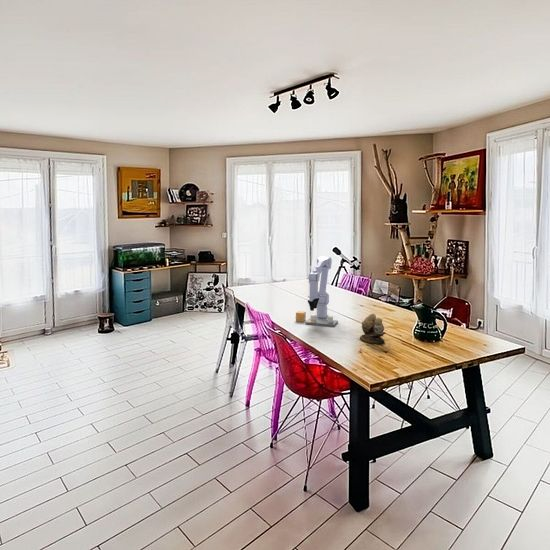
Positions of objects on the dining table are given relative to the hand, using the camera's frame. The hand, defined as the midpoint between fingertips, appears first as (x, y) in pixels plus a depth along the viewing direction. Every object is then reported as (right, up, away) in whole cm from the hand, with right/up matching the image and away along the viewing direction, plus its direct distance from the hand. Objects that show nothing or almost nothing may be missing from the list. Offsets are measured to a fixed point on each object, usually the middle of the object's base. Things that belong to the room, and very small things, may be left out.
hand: (313, 309), depth 302 cm
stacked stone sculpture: (+32, -16, -41) cm, 54 cm away
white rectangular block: (0, -8, +1) cm, 8 cm away
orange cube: (-8, -8, +8) cm, 14 cm away
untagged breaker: (+11, -9, -3) cm, 15 cm away
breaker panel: (+6, -10, -1) cm, 11 cm away
